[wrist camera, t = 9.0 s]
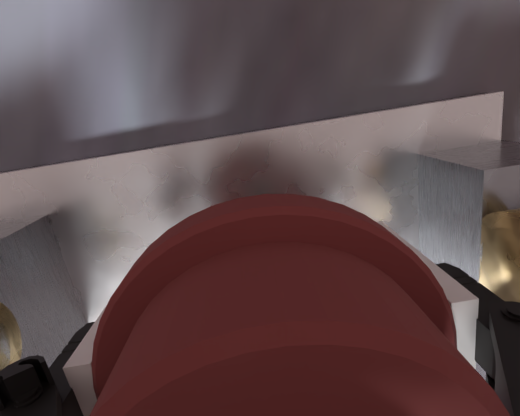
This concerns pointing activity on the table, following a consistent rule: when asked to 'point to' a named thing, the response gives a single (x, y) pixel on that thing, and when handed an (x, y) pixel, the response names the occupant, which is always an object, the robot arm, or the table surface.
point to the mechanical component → (282, 321)
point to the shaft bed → (250, 184)
